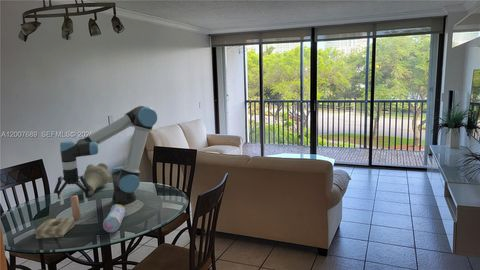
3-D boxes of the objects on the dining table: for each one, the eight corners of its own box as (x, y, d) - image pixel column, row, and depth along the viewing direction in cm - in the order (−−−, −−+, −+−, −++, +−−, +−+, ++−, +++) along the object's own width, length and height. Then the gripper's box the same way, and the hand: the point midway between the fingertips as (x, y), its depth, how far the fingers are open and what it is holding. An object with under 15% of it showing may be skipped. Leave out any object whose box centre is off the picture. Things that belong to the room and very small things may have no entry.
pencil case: (111, 218, 200) (109, 203, 198) (126, 217, 201) (125, 201, 199) (103, 235, 179) (101, 218, 178) (120, 233, 181) (118, 216, 179)
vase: (98, 180, 231) (112, 160, 257) (65, 177, 230) (82, 157, 255) (99, 206, 240) (113, 184, 265) (68, 203, 239) (84, 182, 264)
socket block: (74, 225, 193) (73, 217, 192) (63, 236, 179) (62, 228, 178) (49, 226, 192) (48, 219, 191) (36, 238, 178) (34, 230, 178)
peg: (81, 217, 203) (78, 195, 200) (79, 220, 199) (76, 197, 196) (75, 218, 203) (71, 195, 200) (72, 220, 199) (68, 198, 196)
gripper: (94, 165, 199) (98, 200, 203) (50, 167, 198) (55, 202, 202) (89, 169, 192) (93, 205, 196) (44, 170, 191) (48, 207, 194)
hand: (74, 203), depth 199 cm, fingers open, 13 cm apart
